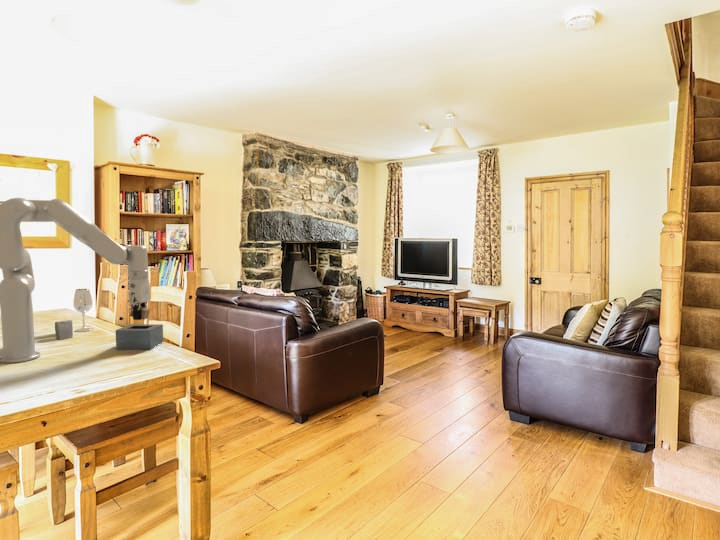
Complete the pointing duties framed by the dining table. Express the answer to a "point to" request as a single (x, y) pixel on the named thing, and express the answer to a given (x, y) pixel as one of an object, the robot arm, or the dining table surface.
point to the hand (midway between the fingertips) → (140, 318)
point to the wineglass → (82, 305)
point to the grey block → (64, 329)
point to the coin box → (139, 336)
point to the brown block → (142, 312)
